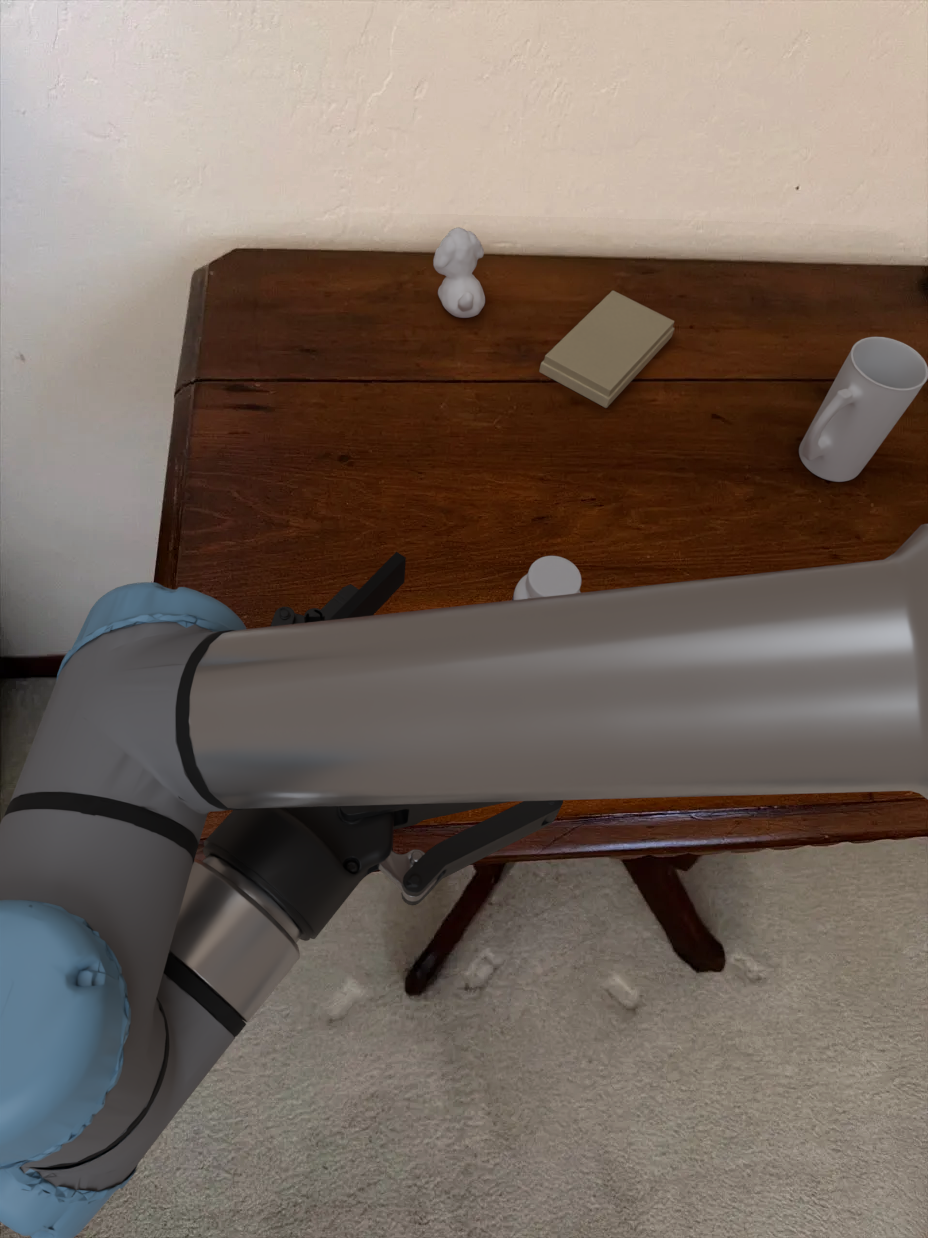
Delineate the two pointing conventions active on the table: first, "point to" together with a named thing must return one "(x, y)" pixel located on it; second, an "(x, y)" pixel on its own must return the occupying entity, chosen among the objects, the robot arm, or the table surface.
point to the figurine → (460, 273)
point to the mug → (862, 407)
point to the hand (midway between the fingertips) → (487, 622)
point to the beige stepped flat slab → (607, 348)
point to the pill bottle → (549, 579)
